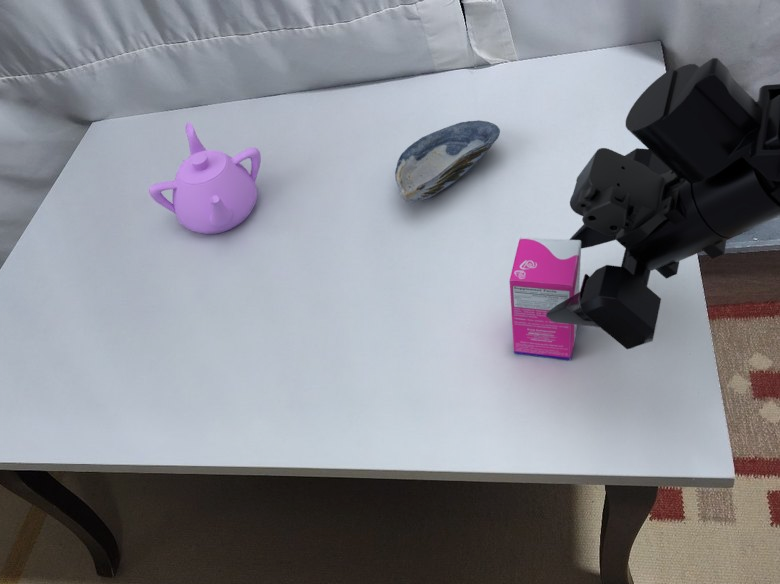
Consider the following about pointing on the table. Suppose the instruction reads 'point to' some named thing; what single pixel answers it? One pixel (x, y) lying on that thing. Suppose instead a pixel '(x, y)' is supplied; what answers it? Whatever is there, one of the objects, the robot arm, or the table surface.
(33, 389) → the table surface
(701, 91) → the robot arm
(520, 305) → the supplement box
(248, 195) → the teapot
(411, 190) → the seashell
